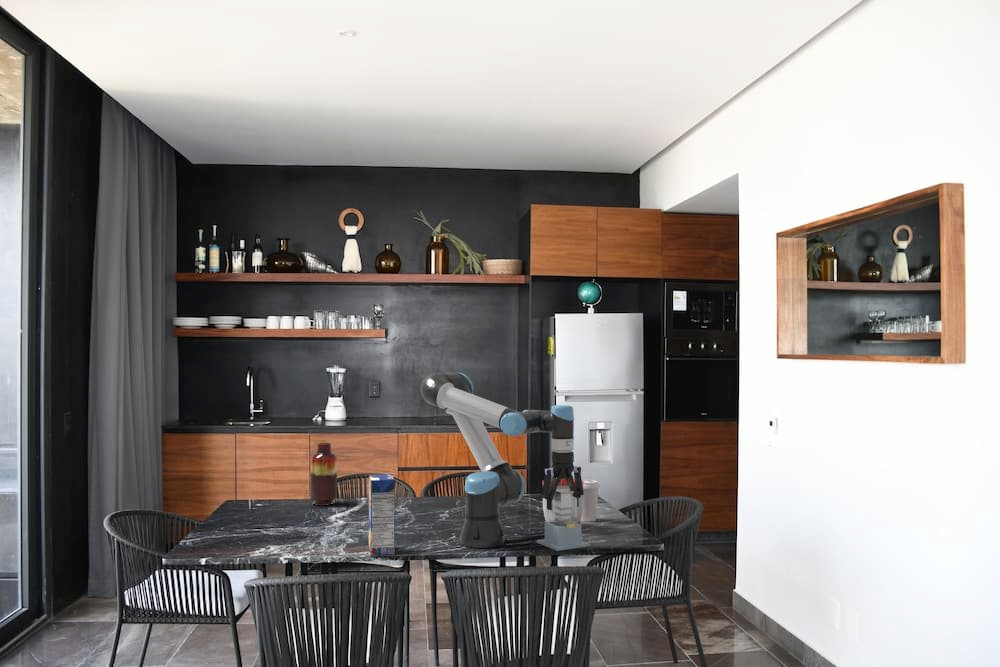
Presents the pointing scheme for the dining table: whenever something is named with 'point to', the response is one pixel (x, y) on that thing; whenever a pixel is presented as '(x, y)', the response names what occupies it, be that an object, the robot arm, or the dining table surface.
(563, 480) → the citrus juicer
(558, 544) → the stand base
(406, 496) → the dining table surface
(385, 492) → the juice carton
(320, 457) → the vase
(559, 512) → the column
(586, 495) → the coffee cup
